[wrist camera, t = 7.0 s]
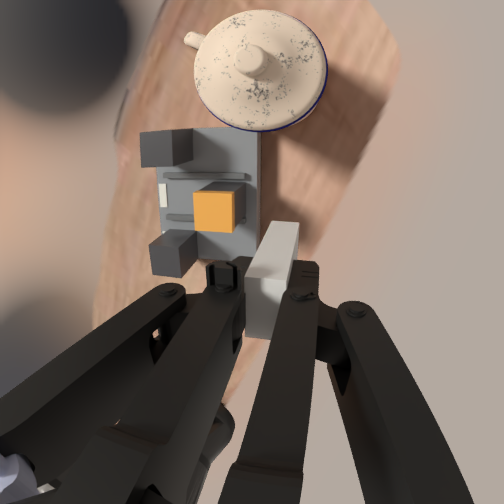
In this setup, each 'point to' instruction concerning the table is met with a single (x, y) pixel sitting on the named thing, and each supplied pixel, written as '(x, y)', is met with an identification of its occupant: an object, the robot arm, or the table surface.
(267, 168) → the table surface
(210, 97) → the teacup with lid
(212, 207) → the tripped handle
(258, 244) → the panel
